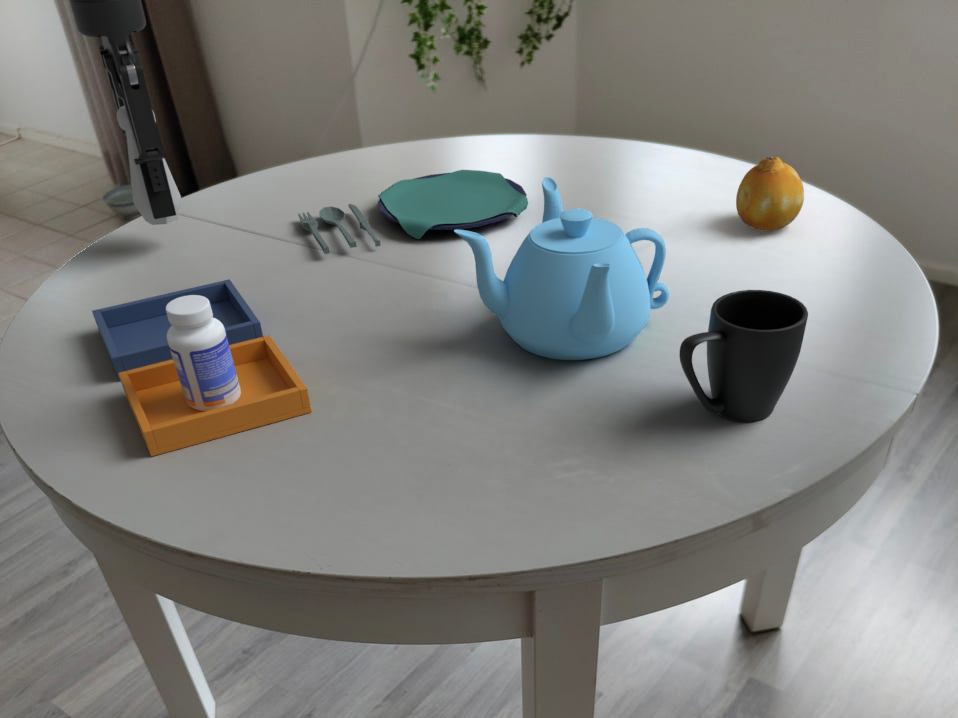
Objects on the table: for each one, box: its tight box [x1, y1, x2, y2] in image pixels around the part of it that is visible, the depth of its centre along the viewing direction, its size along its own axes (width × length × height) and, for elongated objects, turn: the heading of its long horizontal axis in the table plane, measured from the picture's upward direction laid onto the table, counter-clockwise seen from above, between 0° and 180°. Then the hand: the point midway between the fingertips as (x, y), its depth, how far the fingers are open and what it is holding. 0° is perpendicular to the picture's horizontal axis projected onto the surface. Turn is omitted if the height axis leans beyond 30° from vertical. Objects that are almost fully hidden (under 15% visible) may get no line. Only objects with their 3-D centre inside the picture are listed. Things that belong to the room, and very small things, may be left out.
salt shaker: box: [116, 106, 182, 226], centre depth 115 cm, size 6×6×13 cm
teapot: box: [453, 176, 670, 361], centre depth 96 cm, size 17×19×12 cm
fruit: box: [735, 156, 805, 232], centre depth 116 cm, size 8×8×8 cm
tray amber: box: [118, 334, 312, 457], centre depth 92 cm, size 16×13×3 cm
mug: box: [679, 289, 809, 423], centre depth 84 cm, size 8×12×10 cm
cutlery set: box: [297, 169, 529, 255], centre depth 124 cm, size 20×30×2 cm, turn 110°
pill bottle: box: [166, 295, 241, 411], centre depth 89 cm, size 5×5×10 cm
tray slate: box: [91, 278, 264, 382], centre depth 102 cm, size 16×13×3 cm
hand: (159, 207), depth 119 cm, fingers closed on salt shaker, 6 cm apart
